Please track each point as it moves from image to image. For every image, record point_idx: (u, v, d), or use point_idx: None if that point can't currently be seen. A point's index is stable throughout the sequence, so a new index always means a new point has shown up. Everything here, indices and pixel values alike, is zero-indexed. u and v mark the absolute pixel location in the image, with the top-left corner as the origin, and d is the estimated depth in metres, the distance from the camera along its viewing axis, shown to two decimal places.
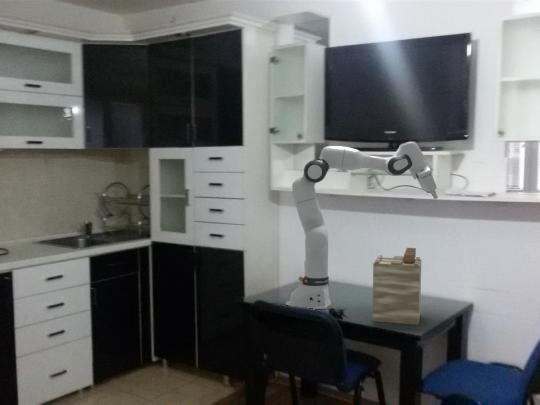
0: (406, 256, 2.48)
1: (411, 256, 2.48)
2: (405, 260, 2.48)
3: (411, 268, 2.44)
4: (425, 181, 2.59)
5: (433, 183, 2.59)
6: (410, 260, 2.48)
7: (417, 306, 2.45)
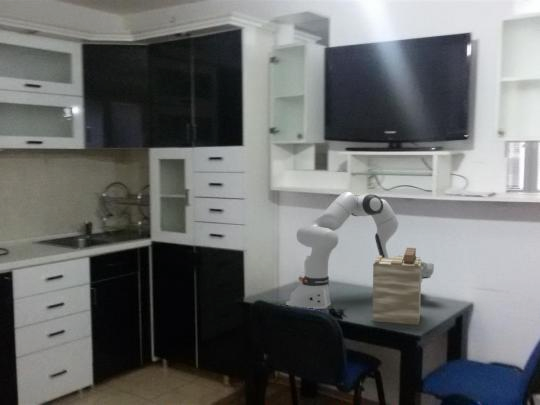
0: (406, 256, 2.48)
1: (411, 256, 2.48)
2: (405, 260, 2.48)
3: (411, 268, 2.44)
4: None
5: (433, 270, 2.78)
6: (410, 260, 2.48)
7: (417, 306, 2.45)
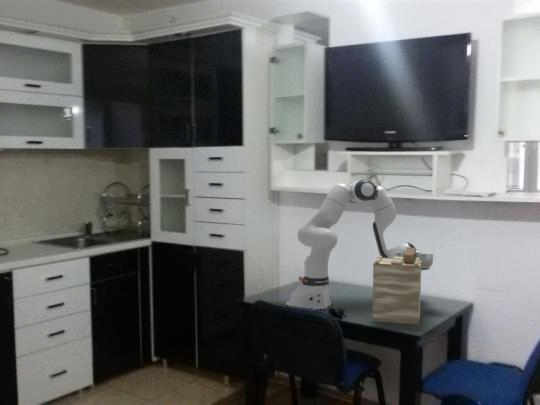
0: (406, 256, 2.48)
1: (411, 256, 2.48)
2: (405, 260, 2.48)
3: (411, 268, 2.44)
4: None
5: (432, 261, 2.66)
6: (410, 260, 2.48)
7: (417, 306, 2.45)
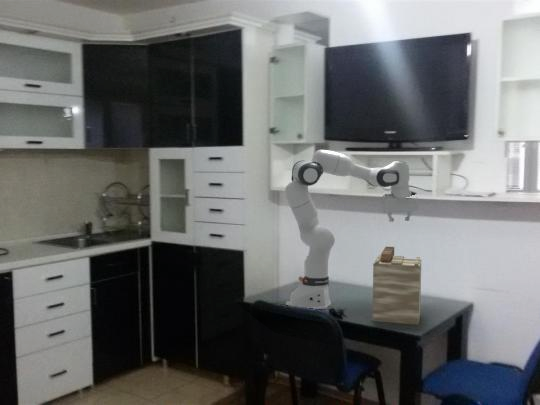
0: (383, 255, 2.51)
1: (388, 255, 2.51)
2: (382, 259, 2.52)
3: (411, 268, 2.44)
4: None
5: None
6: (387, 259, 2.51)
7: (417, 306, 2.45)
